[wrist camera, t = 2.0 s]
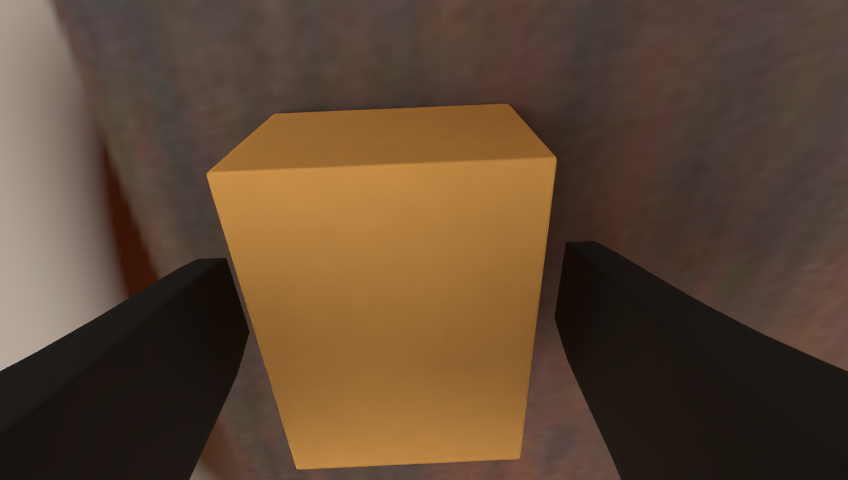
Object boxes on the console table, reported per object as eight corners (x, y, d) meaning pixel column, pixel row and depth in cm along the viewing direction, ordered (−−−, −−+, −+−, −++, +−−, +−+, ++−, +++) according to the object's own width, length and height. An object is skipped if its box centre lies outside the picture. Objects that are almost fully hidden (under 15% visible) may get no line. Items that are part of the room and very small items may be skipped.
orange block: (494, 347, 13) (521, 459, 10) (323, 355, 13) (295, 470, 10) (508, 102, 9) (558, 157, 6) (273, 112, 9) (203, 173, 6)
